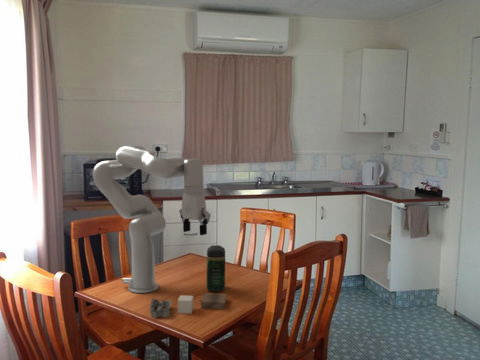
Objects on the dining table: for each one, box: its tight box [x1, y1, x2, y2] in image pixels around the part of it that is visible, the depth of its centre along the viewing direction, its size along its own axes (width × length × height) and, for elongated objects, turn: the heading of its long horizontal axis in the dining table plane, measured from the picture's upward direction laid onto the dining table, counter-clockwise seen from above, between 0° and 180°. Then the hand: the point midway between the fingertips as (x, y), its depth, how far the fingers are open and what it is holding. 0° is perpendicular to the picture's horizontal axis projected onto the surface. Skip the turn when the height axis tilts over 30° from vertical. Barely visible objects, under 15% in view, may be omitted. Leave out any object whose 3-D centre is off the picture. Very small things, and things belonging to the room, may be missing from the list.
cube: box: [177, 295, 194, 315], centre depth 168 cm, size 5×5×5 cm
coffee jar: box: [206, 244, 226, 293], centre depth 191 cm, size 10×8×19 cm
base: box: [200, 293, 227, 310], centre depth 175 cm, size 9×9×3 cm
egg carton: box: [149, 297, 172, 319], centre depth 167 cm, size 11×8×4 cm
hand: (194, 232), depth 177 cm, fingers open, 9 cm apart
